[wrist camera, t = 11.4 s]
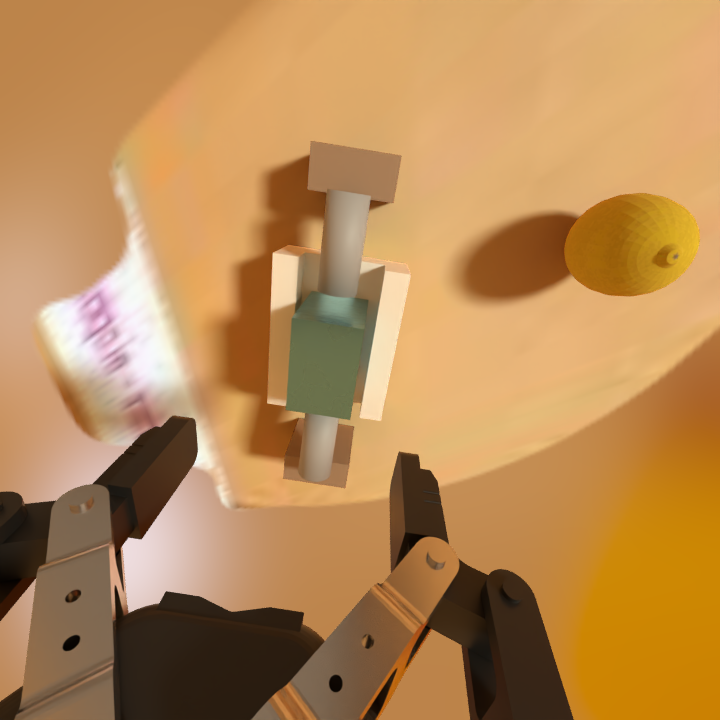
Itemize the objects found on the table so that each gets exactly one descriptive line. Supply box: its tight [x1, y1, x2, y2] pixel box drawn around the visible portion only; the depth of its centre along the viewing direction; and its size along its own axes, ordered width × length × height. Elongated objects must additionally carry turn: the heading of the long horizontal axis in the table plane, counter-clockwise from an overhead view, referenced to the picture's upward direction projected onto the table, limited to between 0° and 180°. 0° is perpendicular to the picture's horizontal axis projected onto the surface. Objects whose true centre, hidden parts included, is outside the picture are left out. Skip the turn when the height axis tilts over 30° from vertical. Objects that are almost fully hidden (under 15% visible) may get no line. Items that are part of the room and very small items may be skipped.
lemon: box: [564, 193, 700, 296], centre depth 20 cm, size 6×6×8 cm
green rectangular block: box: [286, 291, 368, 420], centre depth 23 cm, size 6×4×6 cm, turn 172°
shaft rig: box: [267, 141, 411, 488], centre depth 24 cm, size 23×9×7 cm, turn 172°
